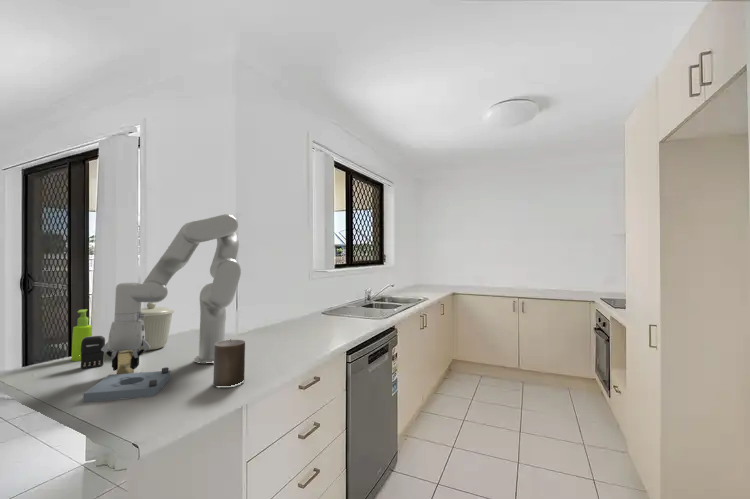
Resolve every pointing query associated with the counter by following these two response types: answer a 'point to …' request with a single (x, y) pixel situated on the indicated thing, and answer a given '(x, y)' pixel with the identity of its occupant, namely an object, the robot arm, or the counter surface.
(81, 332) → the soap dispenser
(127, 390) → the plate
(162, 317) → the canister
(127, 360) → the brass cylinder
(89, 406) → the counter surface
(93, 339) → the battery charger
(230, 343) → the pillar candle
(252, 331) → the counter surface
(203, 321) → the robot arm
